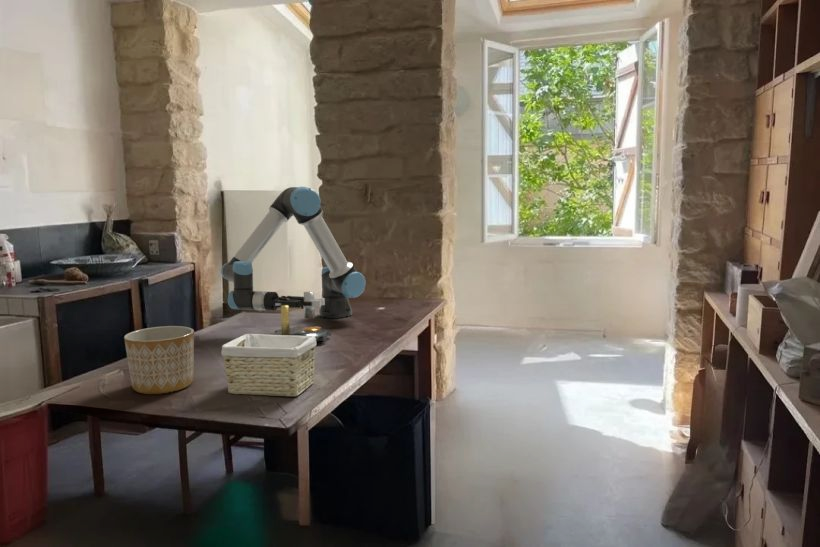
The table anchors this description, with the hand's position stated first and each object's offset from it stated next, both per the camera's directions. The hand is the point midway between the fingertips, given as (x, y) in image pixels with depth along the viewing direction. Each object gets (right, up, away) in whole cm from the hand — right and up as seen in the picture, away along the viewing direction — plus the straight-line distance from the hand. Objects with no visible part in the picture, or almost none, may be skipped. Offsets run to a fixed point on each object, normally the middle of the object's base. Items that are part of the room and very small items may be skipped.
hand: (322, 302), depth 244 cm
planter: (-40, -23, -56) cm, 73 cm away
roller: (-5, -6, +2) cm, 8 cm away
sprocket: (-8, -13, -3) cm, 16 cm away
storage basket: (-7, -23, -59) cm, 64 cm away
